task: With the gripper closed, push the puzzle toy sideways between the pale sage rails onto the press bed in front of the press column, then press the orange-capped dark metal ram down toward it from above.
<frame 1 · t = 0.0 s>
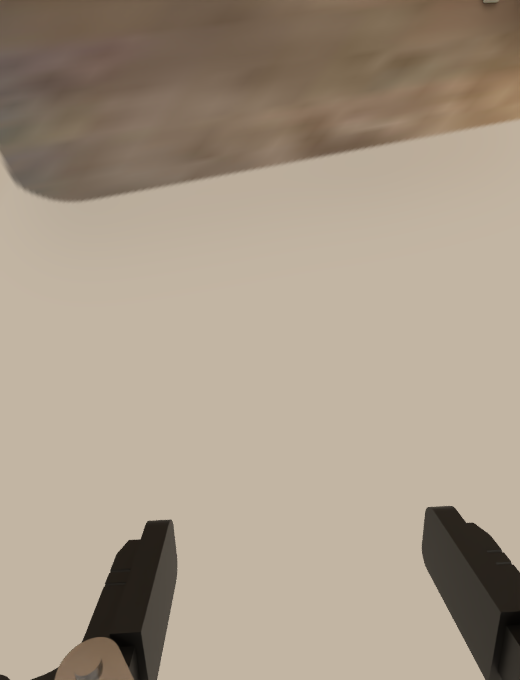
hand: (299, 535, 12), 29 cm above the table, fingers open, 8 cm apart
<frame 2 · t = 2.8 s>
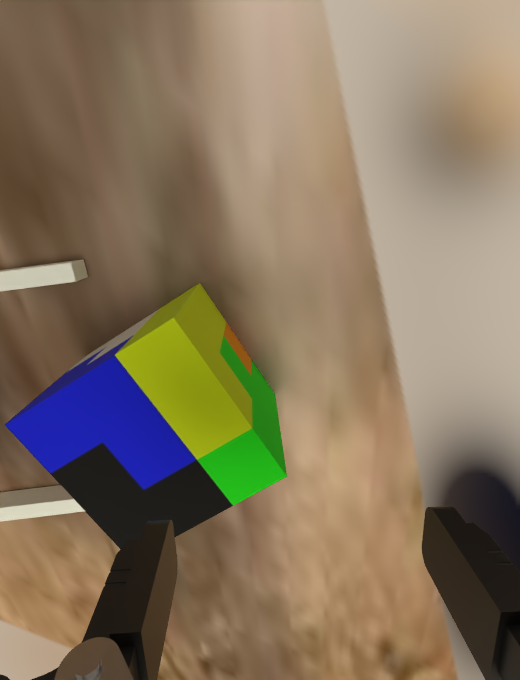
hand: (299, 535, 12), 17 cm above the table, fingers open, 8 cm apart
press: (35, 394, 29), on the table
puzzle toy: (182, 374, 30), on the table
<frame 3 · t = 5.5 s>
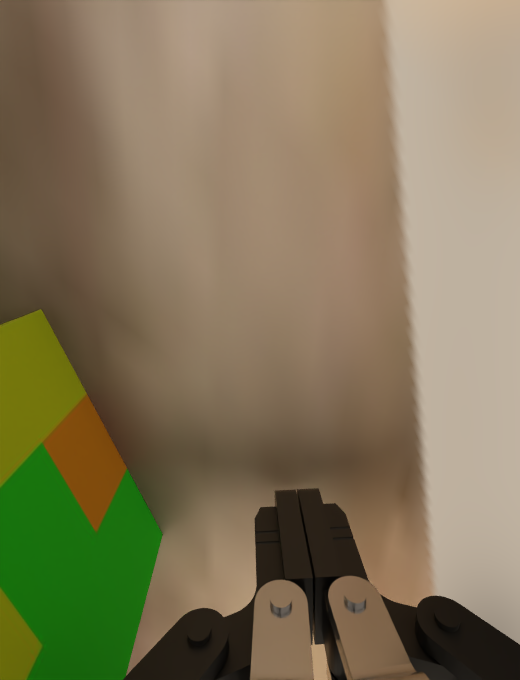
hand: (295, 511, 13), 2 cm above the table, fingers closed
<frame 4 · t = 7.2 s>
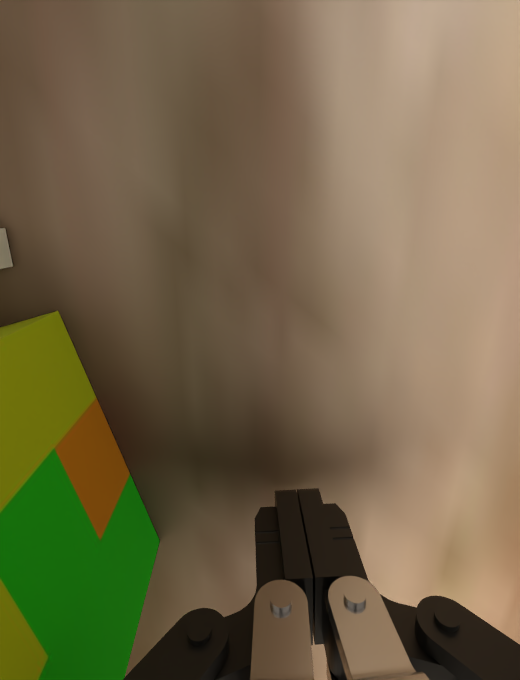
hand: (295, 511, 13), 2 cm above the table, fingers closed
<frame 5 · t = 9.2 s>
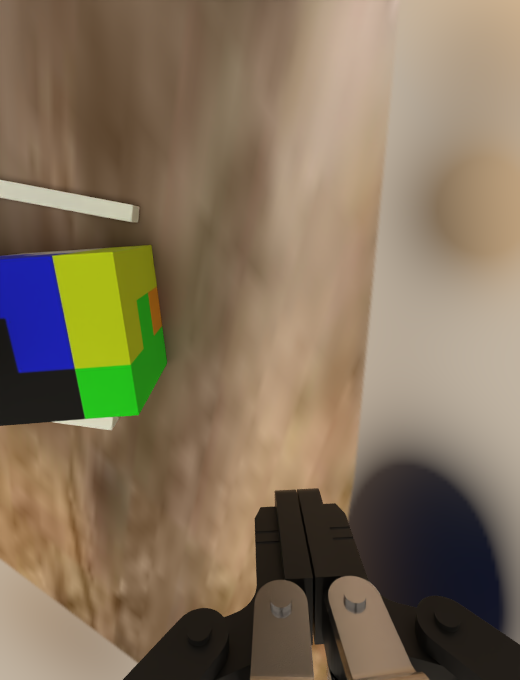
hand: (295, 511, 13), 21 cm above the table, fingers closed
press: (54, 308, 32), on the table
puzzle toy: (100, 310, 33), on the table
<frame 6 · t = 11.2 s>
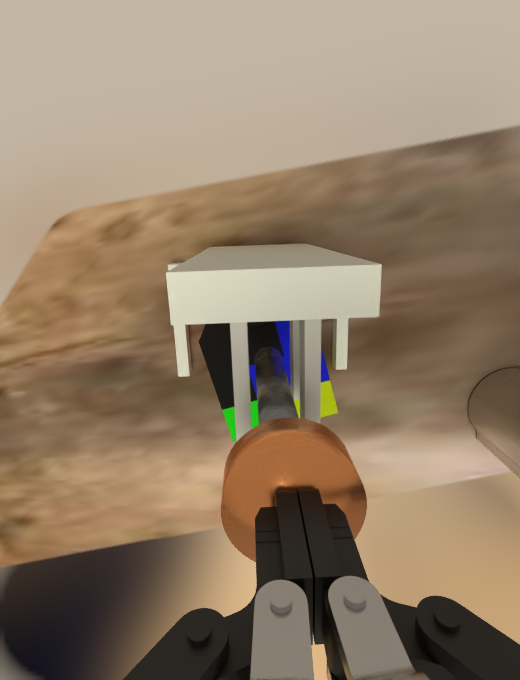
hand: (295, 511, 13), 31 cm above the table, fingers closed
press: (260, 315, 43), on the table
ram: (276, 407, 21), point 23 cm above the table, slide at 0.9 cm, touching gripper
puzzle toy: (265, 345, 45), on the table
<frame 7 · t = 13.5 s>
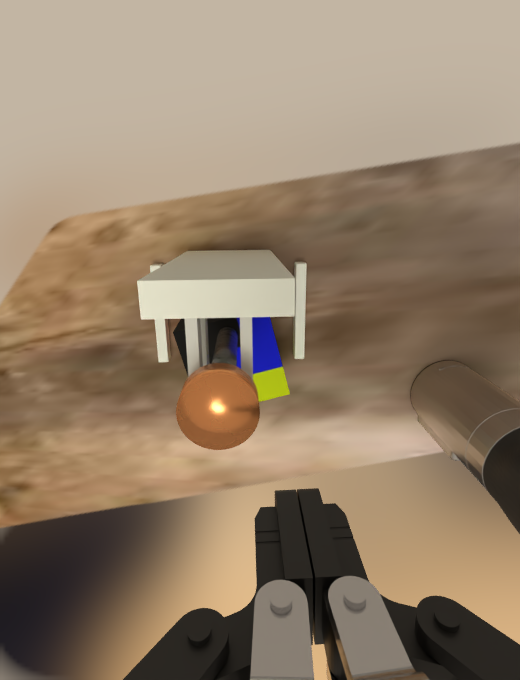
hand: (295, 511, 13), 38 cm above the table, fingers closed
press: (230, 310, 50), on the table
ram: (224, 365, 31), point 20 cm above the table, slide at 4.3 cm
puzzle toy: (234, 336, 52), on the table
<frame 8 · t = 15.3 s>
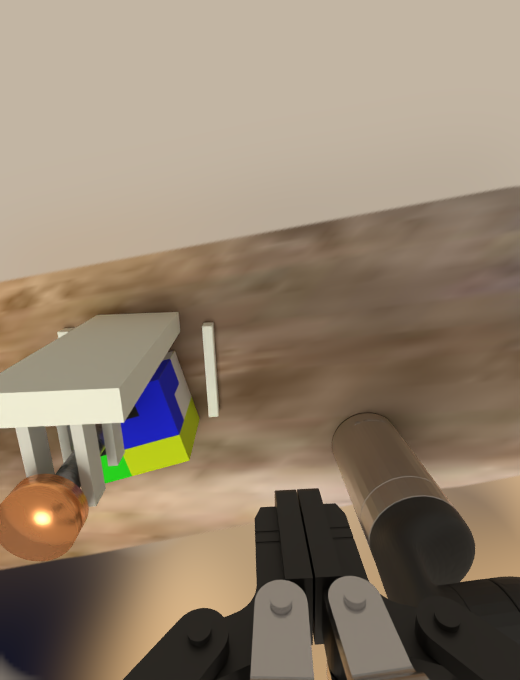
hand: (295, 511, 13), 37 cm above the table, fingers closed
press: (144, 370, 51), on the table
ram: (85, 455, 32), point 20 cm above the table, slide at 4.3 cm
puzzle toy: (151, 394, 52), on the table
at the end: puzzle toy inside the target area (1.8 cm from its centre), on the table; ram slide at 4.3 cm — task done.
